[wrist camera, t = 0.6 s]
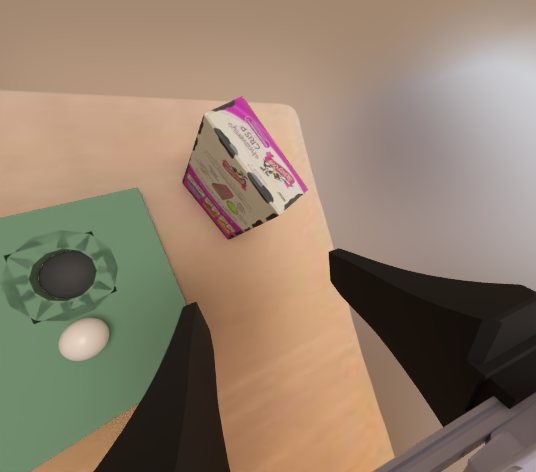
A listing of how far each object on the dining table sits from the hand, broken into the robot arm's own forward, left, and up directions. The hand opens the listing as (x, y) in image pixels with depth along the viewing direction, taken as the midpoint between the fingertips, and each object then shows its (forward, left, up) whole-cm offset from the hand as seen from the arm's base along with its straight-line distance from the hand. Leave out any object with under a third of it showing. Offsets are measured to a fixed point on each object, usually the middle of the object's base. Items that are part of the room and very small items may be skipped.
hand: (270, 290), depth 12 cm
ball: (-9, +8, -19) cm, 23 cm away
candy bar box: (+12, +2, -24) cm, 27 cm away
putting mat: (-8, +10, -23) cm, 27 cm away
